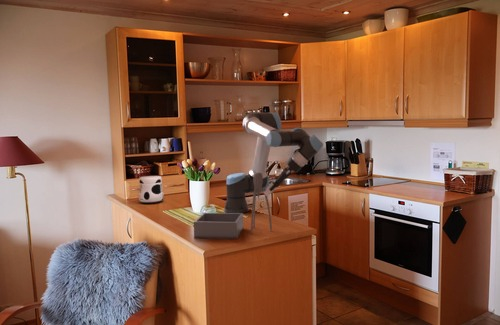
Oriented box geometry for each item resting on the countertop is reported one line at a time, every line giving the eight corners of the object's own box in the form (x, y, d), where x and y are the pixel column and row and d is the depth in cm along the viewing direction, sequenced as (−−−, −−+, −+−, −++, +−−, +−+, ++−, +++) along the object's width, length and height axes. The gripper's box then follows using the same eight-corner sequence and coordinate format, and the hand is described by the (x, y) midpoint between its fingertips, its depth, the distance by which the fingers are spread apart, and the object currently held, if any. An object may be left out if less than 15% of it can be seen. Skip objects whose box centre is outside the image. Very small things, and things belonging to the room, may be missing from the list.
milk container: (135, 202, 299) (133, 177, 297) (157, 199, 309) (156, 174, 307) (145, 205, 285) (143, 179, 283) (168, 202, 295) (167, 177, 294)
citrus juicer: (272, 231, 214) (271, 172, 211) (260, 235, 206) (259, 174, 203) (253, 227, 221) (252, 171, 218) (242, 232, 213) (241, 173, 210)
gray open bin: (204, 227, 223) (203, 212, 222) (243, 228, 220) (242, 213, 219) (194, 238, 203) (193, 221, 202) (237, 239, 200) (236, 222, 200)
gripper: (302, 170, 194) (270, 202, 197) (302, 164, 218) (273, 193, 222) (290, 159, 194) (258, 191, 197) (291, 154, 218) (263, 183, 222)
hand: (266, 192), depth 209 cm, fingers open, 13 cm apart
